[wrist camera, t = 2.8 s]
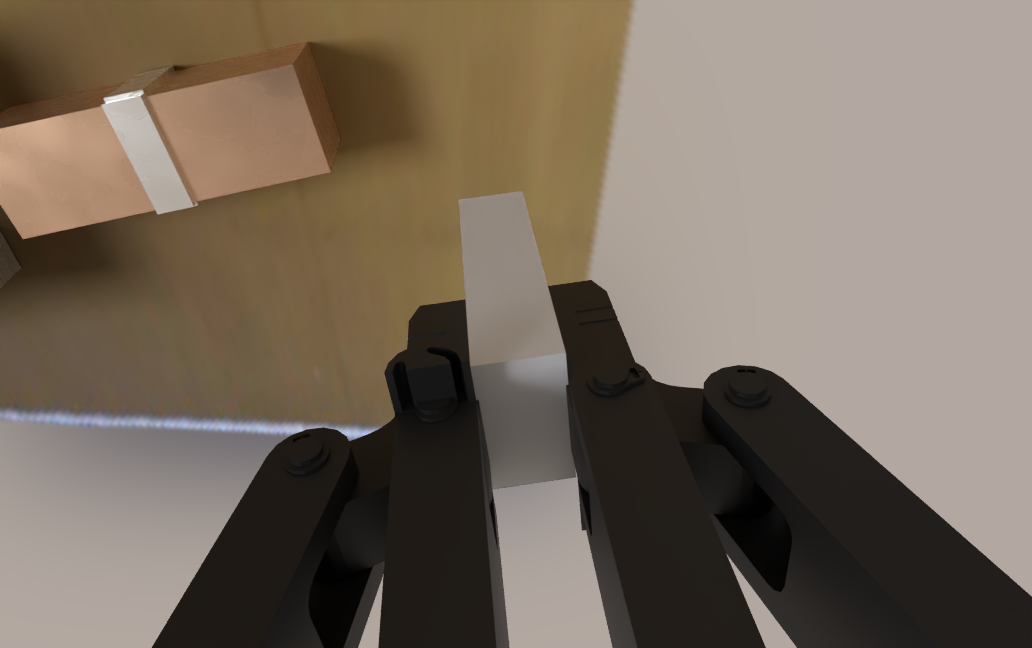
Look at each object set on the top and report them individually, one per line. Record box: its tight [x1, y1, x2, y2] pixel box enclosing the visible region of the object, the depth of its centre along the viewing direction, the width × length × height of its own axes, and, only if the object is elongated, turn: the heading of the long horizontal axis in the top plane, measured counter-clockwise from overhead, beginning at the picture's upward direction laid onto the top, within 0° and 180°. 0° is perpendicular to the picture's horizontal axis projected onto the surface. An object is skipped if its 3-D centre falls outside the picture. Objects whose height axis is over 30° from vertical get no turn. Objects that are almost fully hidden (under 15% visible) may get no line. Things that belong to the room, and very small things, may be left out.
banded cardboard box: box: [0, 42, 341, 239], centre depth 27 cm, size 12×4×4 cm, turn 101°
